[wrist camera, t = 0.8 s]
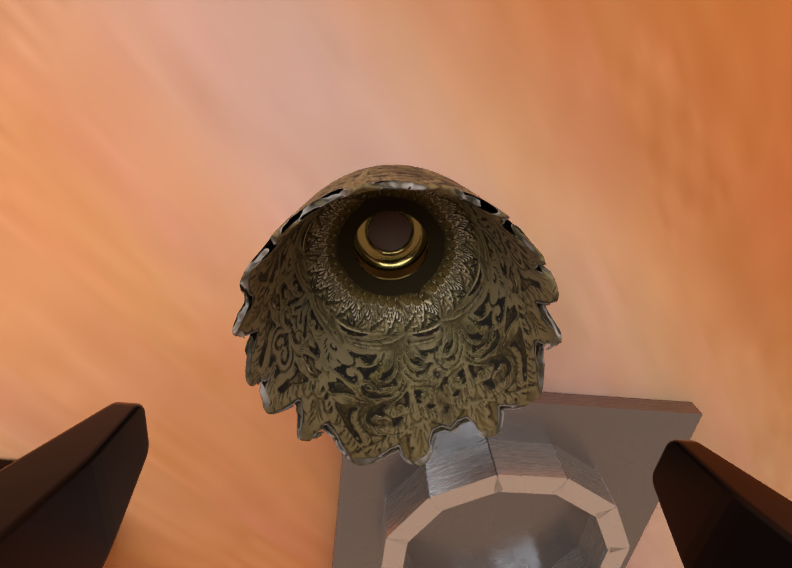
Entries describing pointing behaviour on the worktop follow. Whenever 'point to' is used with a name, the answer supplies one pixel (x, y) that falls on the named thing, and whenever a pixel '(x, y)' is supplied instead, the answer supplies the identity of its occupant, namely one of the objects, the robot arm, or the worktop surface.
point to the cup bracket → (516, 490)
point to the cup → (396, 316)
